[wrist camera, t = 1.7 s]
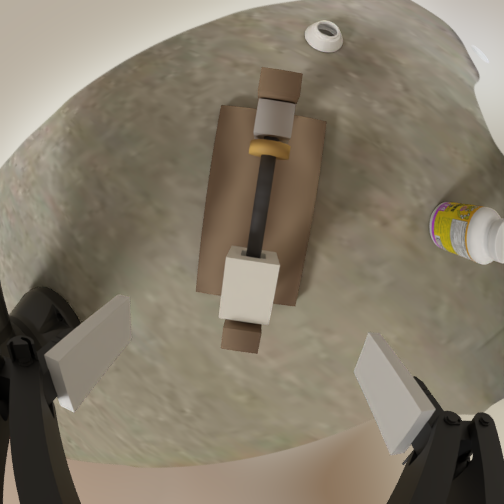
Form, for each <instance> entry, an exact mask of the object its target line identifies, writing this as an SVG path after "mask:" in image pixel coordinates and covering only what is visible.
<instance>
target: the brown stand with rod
mask: <svg viewBox="0 0 504 504" xmlns="http://www.w3.org/2000/svg"><path fill="white" fill-rule="evenodd" d="M302 75H303V74H302V73H296V72H291V71H285V70H279V69H272V68H265V67H262V69H261V75H260V81H259V87H258V107H257V109H253V108H245V107H236V106H225V105H221V109H220V115H219V120H218V126H217V131H216V137H215V143H214V149H213V156H212V162H211V169H210V175H209V182H208V189H207V196H206V204H205V212H204V219H203V228H202V236H201V245H200V254H199V264H198V274H197V285H196V292H202V293H207V294H213V295H220V296H221V293H222V285H223V277H224V269H225V261H226V256H227V254H228V252H229V250H230V248H231V246H237V247H244V248H247V252H246V256H247V257H254V258H261V252H262V250H264V251H271V252H276V253H277V257H278V260H279V264H280V268H279V273H278V279H277V284H276V290H275V295H274V300H273V304H281V305H288V306H295V304H296V300H297V295H298V290H299V286H300V281H301V276H302V271H303V266H304V261H305V256H306V251H307V246H308V240H309V235H310V229H311V224H312V218H313V212H314V206H315V200H316V194H317V188H318V181H319V174H320V168H321V161H322V153H323V146H324V138H325V130H326V121H322V120H317V119H312V118H308V117H303V116H297V115H294V112H295V106H296V104H297V102H298V99H299V97H300V90H301V83H302ZM260 338H261V324H256V323H249V322H242V321H235V320H229V319H225V323H224V327H223V334H222V343H221V348H222V349H228V350H235V351H241V352H249V353H256V354H257V353H258V348H259V343H260Z"/></svg>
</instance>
